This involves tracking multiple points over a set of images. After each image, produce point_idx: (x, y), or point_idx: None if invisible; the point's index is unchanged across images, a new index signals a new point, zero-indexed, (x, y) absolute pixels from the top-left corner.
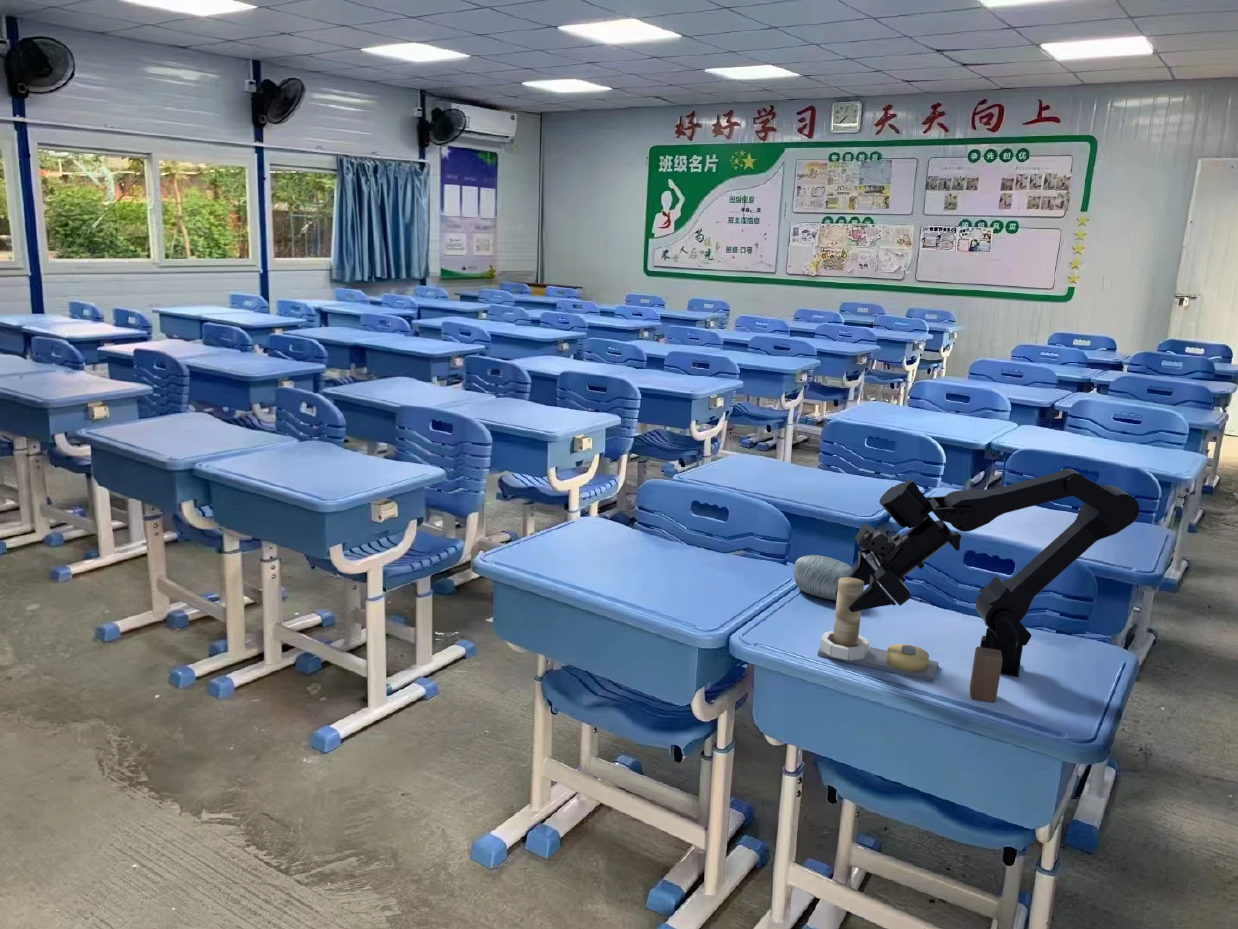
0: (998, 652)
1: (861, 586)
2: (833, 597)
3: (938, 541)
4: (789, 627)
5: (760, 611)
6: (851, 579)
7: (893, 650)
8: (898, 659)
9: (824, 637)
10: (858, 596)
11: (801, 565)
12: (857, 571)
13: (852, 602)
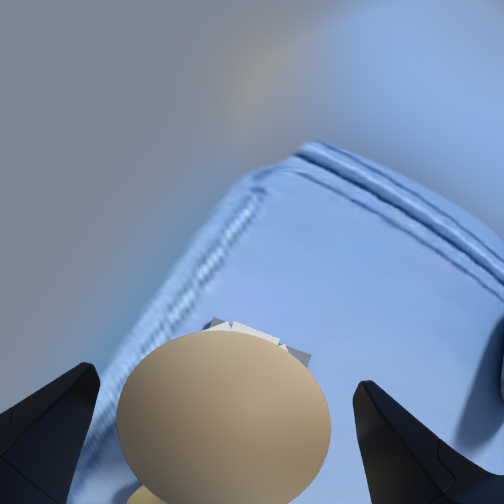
0: None
1: (146, 481)
2: (502, 371)
3: None
4: (371, 272)
5: (425, 223)
6: (278, 445)
7: None
8: (135, 491)
9: (238, 331)
10: (46, 405)
11: None
12: (423, 484)
13: (76, 380)
